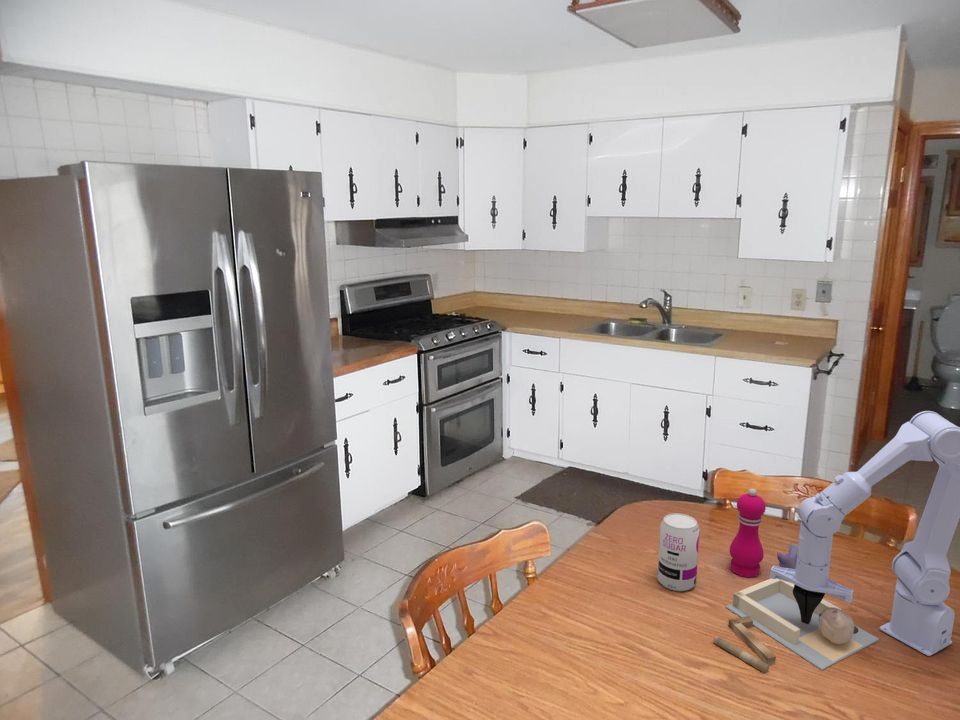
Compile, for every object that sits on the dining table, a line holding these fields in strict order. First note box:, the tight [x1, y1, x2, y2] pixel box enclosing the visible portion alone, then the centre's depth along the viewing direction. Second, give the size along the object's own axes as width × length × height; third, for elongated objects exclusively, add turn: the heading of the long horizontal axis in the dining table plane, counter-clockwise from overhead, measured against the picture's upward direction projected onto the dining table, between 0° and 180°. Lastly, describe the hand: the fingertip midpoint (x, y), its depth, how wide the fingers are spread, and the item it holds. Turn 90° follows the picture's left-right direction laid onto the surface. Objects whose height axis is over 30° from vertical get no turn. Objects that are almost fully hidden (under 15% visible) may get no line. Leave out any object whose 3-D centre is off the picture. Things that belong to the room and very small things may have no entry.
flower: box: [776, 542, 798, 569], centre depth 149 cm, size 9×8×10 cm
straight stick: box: [713, 635, 770, 674], centre depth 126 cm, size 11×2×2 cm
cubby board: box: [725, 578, 880, 671], centre depth 135 cm, size 22×17×3 cm
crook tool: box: [728, 616, 777, 666], centre depth 129 cm, size 12×4×2 cm, turn 15°
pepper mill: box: [728, 488, 767, 578], centre depth 152 cm, size 7×7×20 cm
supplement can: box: [657, 512, 701, 592], centre depth 148 cm, size 8×8×15 cm
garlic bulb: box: [819, 607, 855, 644], centre depth 129 cm, size 7×6×8 cm
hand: (806, 620), depth 133 cm, fingers closed
